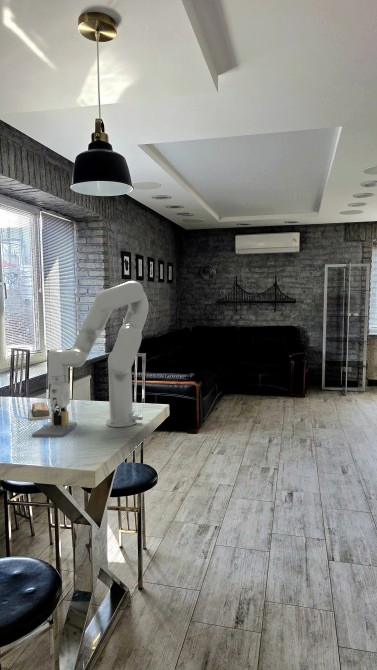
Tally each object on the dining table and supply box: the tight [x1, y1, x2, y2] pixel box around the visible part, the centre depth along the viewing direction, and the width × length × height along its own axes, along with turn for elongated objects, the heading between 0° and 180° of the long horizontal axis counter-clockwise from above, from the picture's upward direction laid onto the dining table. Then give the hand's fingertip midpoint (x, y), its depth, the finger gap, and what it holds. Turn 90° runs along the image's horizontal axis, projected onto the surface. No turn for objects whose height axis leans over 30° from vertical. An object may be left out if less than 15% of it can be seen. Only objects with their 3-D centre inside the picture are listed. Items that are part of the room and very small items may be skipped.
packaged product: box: [28, 402, 52, 421], centre depth 203 cm, size 18×5×10 cm
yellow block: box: [42, 410, 78, 430], centre depth 181 cm, size 12×6×6 cm, turn 85°
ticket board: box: [31, 426, 73, 438], centre depth 173 cm, size 12×10×1 cm
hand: (60, 422), depth 181 cm, fingers open, 5 cm apart
